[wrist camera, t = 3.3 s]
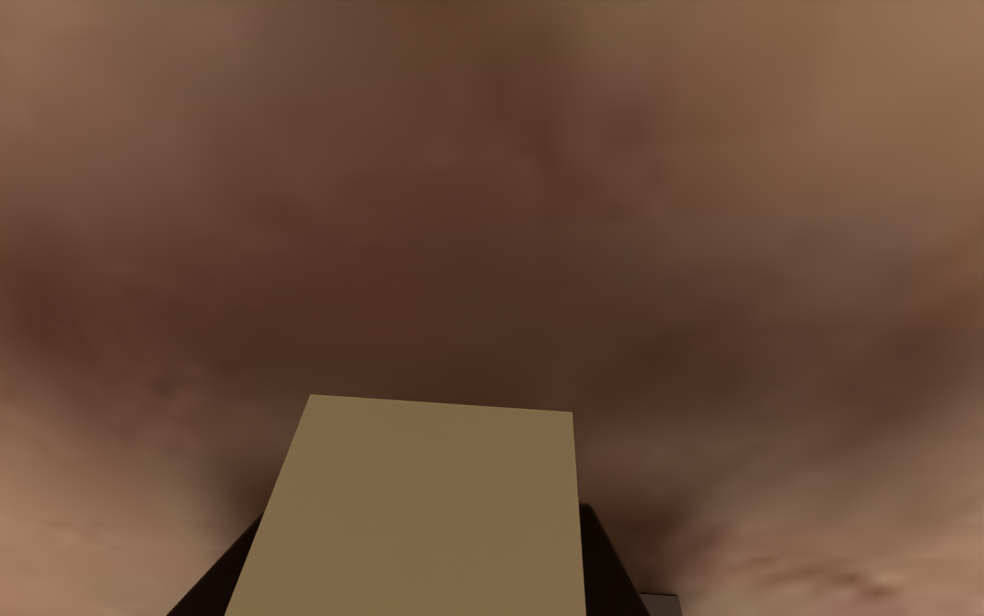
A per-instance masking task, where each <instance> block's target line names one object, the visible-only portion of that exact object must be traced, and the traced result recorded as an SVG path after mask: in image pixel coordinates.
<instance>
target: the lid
mask: <svg viewBox="0 0 984 616" xmlns="http://www.w3.org/2000/svg"><path fill="white" fill-rule="evenodd" d="M224 616H586V606H585V591H584V577H583V562H582V547H581V532H580V517H579V503H578V488H577V473H576V458H575V443H574V429H573V414H572V412H564V411H549V410H535V409H520V408H505V407H490V406H476V405H461V404H446V403H432V402H417V401H402V400H388V399H373V398H358V397H343V396H329V395H314V394H310V396H309V399H308V402H307V404H306V407H305V409H304V412H303V414H302V417H301V420H300V422H299V425H298V427H297V430H296V433H295V435H294V438H293V440H292V443H291V445H290V448H289V451H288V453H287V456H286V458H285V461H284V463H283V466H282V469H281V471H280V474H279V476H278V479H277V481H276V484H275V487H274V489H273V492H272V494H271V497H270V499H269V502H268V505H267V507H266V510H265V512H264V515H263V517H262V520H261V523H260V525H259V528H258V530H257V533H256V535H255V538H254V541H253V543H252V546H251V548H250V551H249V554H248V556H247V559H246V561H245V564H244V566H243V569H242V572H241V574H240V577H239V579H238V582H237V584H236V587H235V590H234V592H233V595H232V597H231V600H230V602H229V605H228V608H227V610H226V613H225V615H224Z"/></svg>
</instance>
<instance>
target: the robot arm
mask: <svg viewBox="0 0 984 616" xmlns="http://www.w3.org/2000/svg"><path fill="white" fill-rule="evenodd" d="M578 503H579V517H580V532H581V547H582V562H583V577H584V591H585V606H586V616H651V614H650V612H649V611H648V609H647V607H646V605H645V603H644V601H643V599H642V598H641V596H640V594H639V592H638V590H637V588H636V587H635V585H634V583H633V581H632V579H631V577H630V575H629V574H628V572H627V570H626V568H625V566H624V564H623V563H622V561H621V559H620V557H619V555H618V553H617V551H616V550H615V548H614V546H613V544H612V542H611V540H610V539H609V537H608V535H607V533H606V531H605V529H604V527H603V526H602V524H601V522H600V520H599V518H598V516H597V515H596V513H595V511H594V509H593V508H592V507H591V506H590V505H589V504H587V503H580V502H578ZM265 510H266V509H265ZM265 510H264V512H265ZM264 512H263V513H262V514H261V515H260V516H259V517H258V518H257V519H256V520H255V521H254V522H253V523H252V524H251V525H250V527H249V528H248V529H247V530H246V531H245V532H244V533H243V534H242V535H241V536H240V537H239V538H238V539H237V540H236V541H235V543H234V544H233V545H232V546H231V547H230V548H229V549H228V550H227V551H226V552H225V553H224V554H223V555H222V556H221V558H220V559H219V560H218V561H217V562H216V563H215V564H214V565H213V566H212V567H211V568H210V569H209V570H208V571H207V572H206V574H205V575H204V576H203V577H202V578H201V579H200V580H199V581H198V582H197V583H196V584H195V585H194V586H193V587H192V589H191V590H190V591H189V592H188V593H187V594H186V595H185V596H184V597H183V598H182V599H181V600H180V601H179V602H178V604H177V605H176V606H175V607H174V608H173V609H172V610H171V611H170V612H169V613H168V614H167V615H166V616H224V615H225V613H226V610H227V608H228V605H229V602H230V600H231V597H232V595H233V592H234V590H235V587H236V584H237V582H238V579H239V577H240V574H241V572H242V569H243V566H244V564H245V561H246V559H247V556H248V554H249V551H250V548H251V546H252V543H253V541H254V538H255V535H256V533H257V530H258V528H259V525H260V523H261V520H262V517H263V515H264Z"/></svg>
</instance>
